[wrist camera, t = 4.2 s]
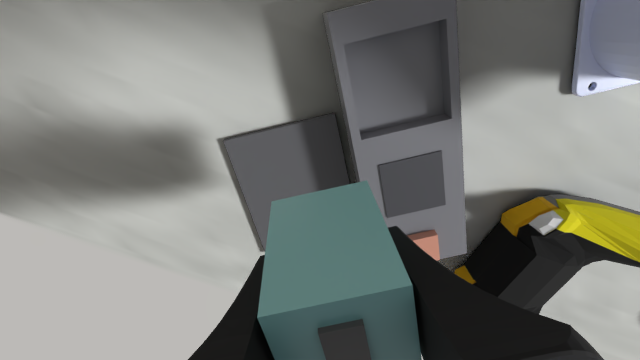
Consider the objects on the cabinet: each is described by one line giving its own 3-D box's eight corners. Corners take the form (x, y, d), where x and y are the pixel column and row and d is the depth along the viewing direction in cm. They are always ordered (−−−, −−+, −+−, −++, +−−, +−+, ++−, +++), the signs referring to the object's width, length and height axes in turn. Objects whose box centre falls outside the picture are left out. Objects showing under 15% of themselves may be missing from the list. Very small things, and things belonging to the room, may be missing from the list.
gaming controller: (638, 209, 26) (542, 155, 23) (718, 255, 21) (608, 193, 18) (507, 337, 31) (418, 305, 29) (547, 398, 26) (443, 365, 24)
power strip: (322, 13, 18) (328, 13, 15) (431, -15, 18) (461, -21, 15) (369, 245, 26) (380, 279, 22) (448, 227, 25) (471, 259, 22)
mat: (334, 112, 21) (334, 114, 21) (359, 230, 25) (360, 234, 25) (224, 139, 21) (223, 141, 21) (266, 251, 25) (266, 255, 25)
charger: (366, 180, 14) (414, 291, 8) (379, 256, 16) (426, 389, 10) (271, 201, 14) (256, 324, 8) (295, 274, 16) (295, 415, 10)
